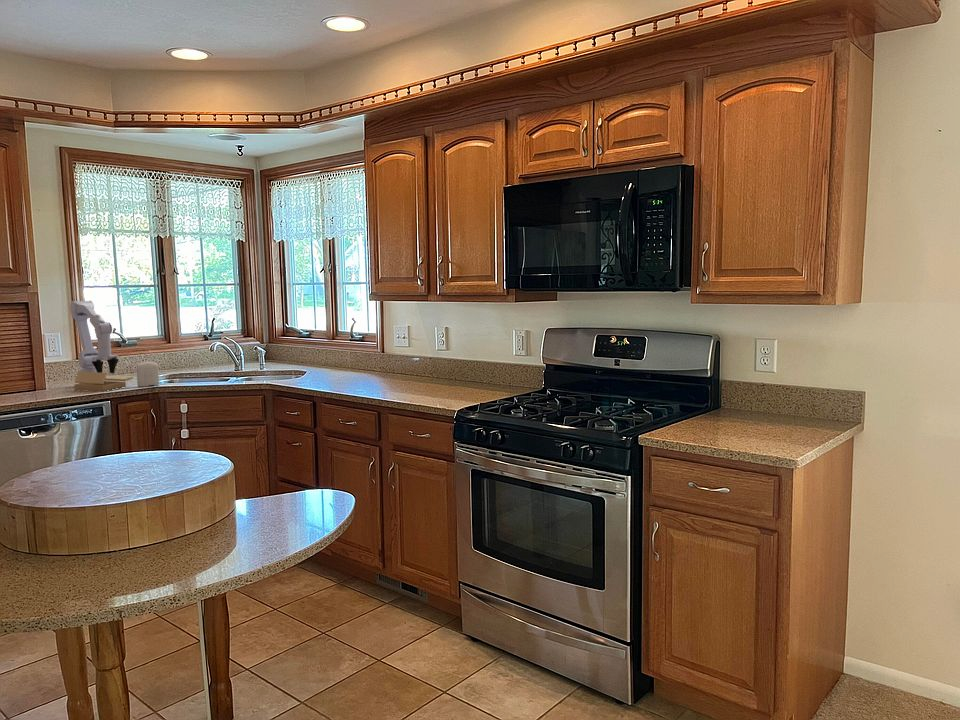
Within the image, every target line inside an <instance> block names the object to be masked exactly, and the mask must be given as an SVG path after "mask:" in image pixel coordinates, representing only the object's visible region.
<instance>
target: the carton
mask: <svg viewBox="0 0 960 720" xmlns="http://www.w3.org/2000/svg"><path fill="white" fill-rule="evenodd" d="M73 386H74V391H77V390H88V391H87V392H96V391H106V392H108V391H107V390H111V391H113V390H112V389H116V388H122V387H126V388H127V385H126V381H109V380H105V381H104V383H103V384H90V383H80V384H79V383H75V384H73ZM122 389H123V388H122Z"/></svg>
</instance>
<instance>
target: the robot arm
mask: <svg viewBox="0 0 960 720" xmlns="http://www.w3.org/2000/svg"><path fill="white" fill-rule="evenodd" d="M69 310H70V315H71V319H73V320H75V322H76V328H77V331H78V335H79V339H80V344H81V348H82V350H81V351H80V352H79V353H78V355H77V358H78V361H77V362H78V365H79V367H80V369H79V371H78V372H96V373H103V368H104V361H106V362H107V363H108V367H109V368H108V369H109V373H110V374H115V372H116V371H115V370H116V368H117V364H118V362H119V359H118V358H119V355H118V354H112V345H111V344H112V343H111V341H112V340H111V334H112V332H113V327H112V326H113V325H112V324H111V323H110V322H107V321H105V320H104V318H103V317H102V316H101V315H100V314H98V313H96V310H95V304H94V302H93V300H78V301H76V300H72V301H71V302H70V304H69ZM88 320H89V323H90V324H91V325H92V327H93V328H94V332H95V336H96V339H97V349H98V350H97V349H95V348H94V346H93V342H92V341H93V340H92V337H91V332H90V328H89V325H88ZM78 384H80V383H78Z"/></svg>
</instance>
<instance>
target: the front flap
mask: <svg viewBox="0 0 960 720" xmlns="http://www.w3.org/2000/svg"><path fill="white" fill-rule="evenodd" d="M106 375H108V373H107V372H102V373H96V372H79V371H78V372H77V373H76V377H75V378H74V383H75V384H79V383H90V384H103V383H104V381H106V380H105V378H106Z"/></svg>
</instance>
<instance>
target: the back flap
mask: <svg viewBox="0 0 960 720" xmlns="http://www.w3.org/2000/svg"><path fill="white" fill-rule="evenodd" d="M132 379H134V376H132V375H131V376H129V375H108V374H107V375H106V378H105V381H115V382H126V381H130V380H132Z"/></svg>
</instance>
